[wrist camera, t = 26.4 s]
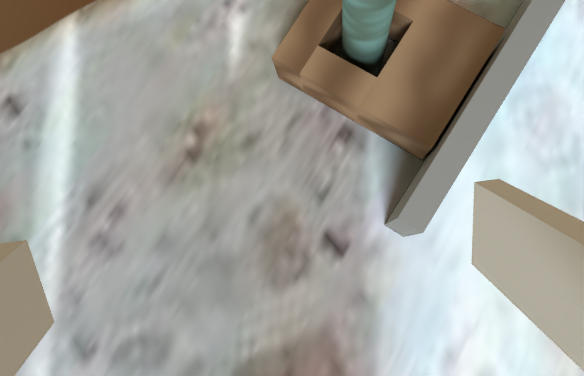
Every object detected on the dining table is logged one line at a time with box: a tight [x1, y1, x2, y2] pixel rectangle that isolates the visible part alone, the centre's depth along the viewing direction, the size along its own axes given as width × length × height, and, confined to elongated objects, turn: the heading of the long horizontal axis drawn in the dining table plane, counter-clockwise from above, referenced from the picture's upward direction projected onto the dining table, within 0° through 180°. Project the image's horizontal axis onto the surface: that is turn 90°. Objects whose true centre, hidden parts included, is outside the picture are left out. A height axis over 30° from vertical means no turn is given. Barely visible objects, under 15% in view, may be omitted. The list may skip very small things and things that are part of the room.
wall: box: [385, 0, 565, 237], centre depth 35 cm, size 2×26×9 cm, turn 147°
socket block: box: [272, 0, 505, 160], centre depth 38 cm, size 16×12×4 cm
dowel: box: [342, 0, 396, 75], centre depth 34 cm, size 4×4×14 cm
